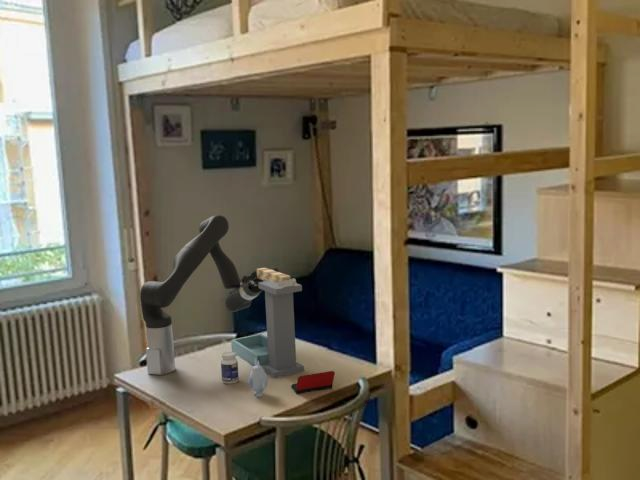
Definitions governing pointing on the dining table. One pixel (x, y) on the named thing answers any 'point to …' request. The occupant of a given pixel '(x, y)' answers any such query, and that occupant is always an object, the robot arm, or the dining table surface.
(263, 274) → the maple pin
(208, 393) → the dining table surface
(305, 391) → the handheld game console
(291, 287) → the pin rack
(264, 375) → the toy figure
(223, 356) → the pill bottle
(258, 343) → the teal tray
